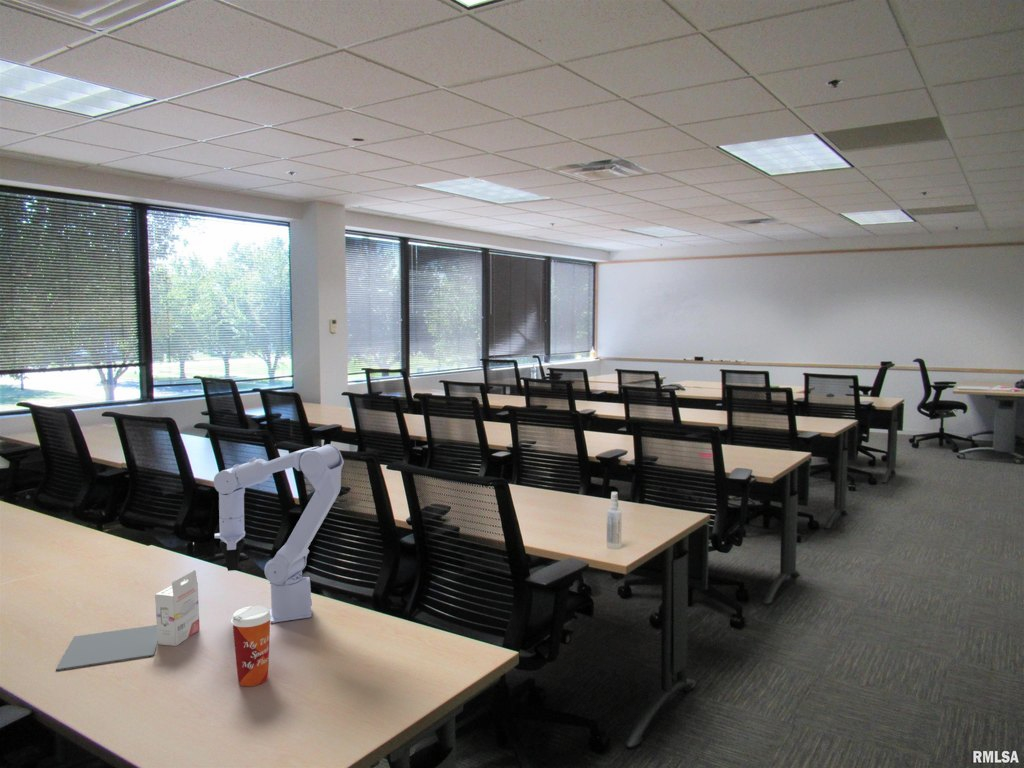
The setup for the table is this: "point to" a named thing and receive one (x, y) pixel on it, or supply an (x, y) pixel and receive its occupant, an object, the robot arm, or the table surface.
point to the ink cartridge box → (178, 611)
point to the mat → (110, 647)
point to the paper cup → (252, 644)
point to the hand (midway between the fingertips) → (232, 569)
